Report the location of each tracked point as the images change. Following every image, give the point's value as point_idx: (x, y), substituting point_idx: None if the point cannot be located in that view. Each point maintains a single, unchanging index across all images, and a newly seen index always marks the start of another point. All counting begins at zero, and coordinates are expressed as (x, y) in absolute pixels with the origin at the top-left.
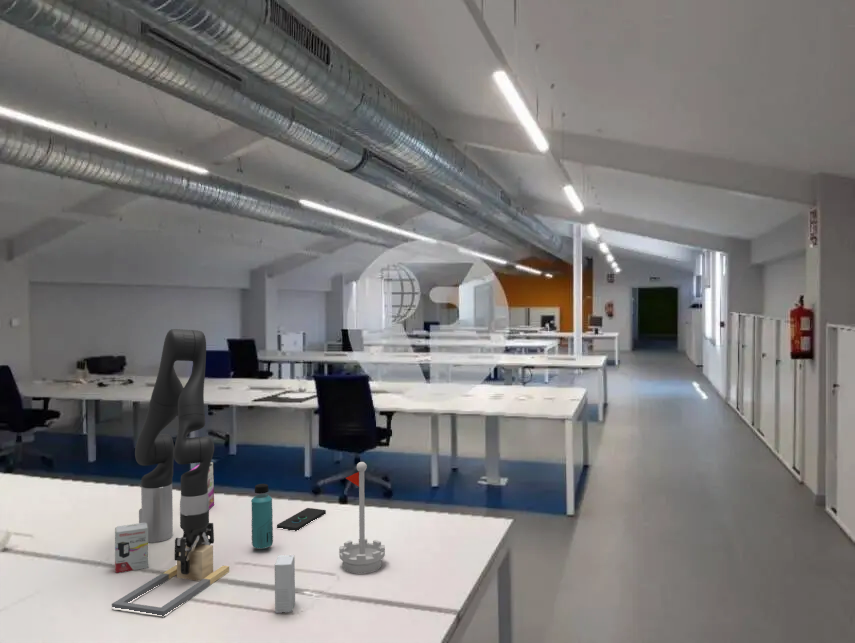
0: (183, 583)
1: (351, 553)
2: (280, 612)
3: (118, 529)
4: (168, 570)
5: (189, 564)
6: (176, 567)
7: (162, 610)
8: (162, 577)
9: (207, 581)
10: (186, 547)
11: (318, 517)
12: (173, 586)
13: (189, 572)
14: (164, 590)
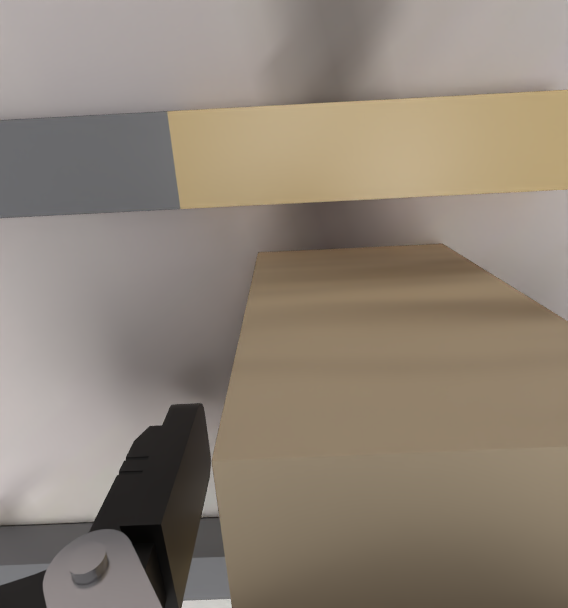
0: (184, 382)
1: None
2: None
3: None
4: (265, 124)
5: (190, 555)
6: (374, 161)
7: None
8: (75, 207)
9: (200, 598)
10: (401, 581)
11: None
12: (101, 344)
13: (209, 474)
14: (4, 327)
